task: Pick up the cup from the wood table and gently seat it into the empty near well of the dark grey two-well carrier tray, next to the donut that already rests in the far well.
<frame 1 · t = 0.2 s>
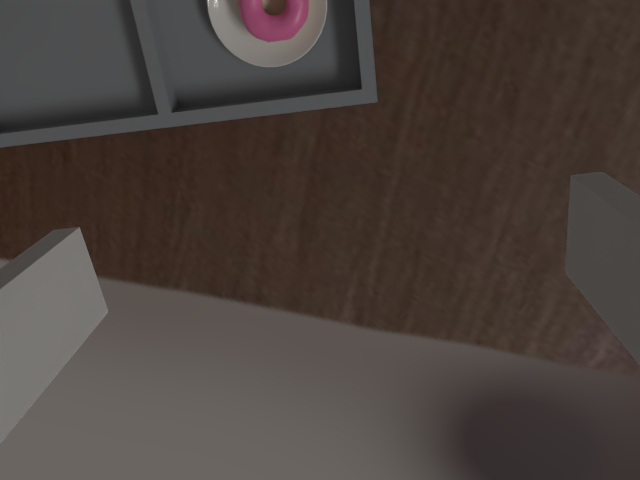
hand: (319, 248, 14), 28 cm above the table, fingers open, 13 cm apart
carrier tray: (152, 10, 38), on the table
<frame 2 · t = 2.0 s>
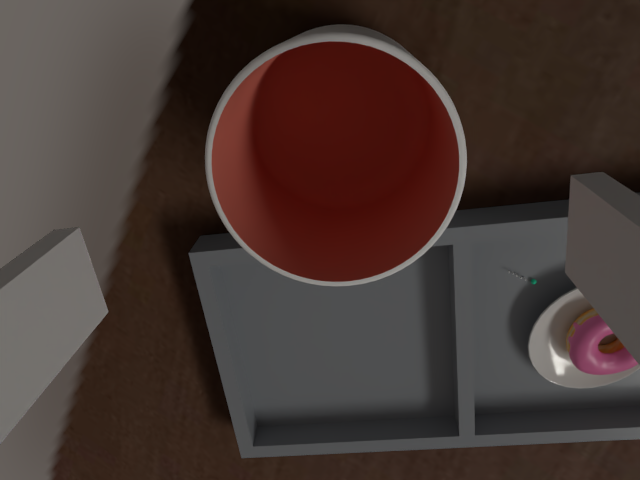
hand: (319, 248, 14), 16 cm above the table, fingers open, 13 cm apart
cup: (341, 120, 29), on the table
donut: (570, 319, 33), resting on carrier tray
carrier tray: (457, 325, 34), on the table
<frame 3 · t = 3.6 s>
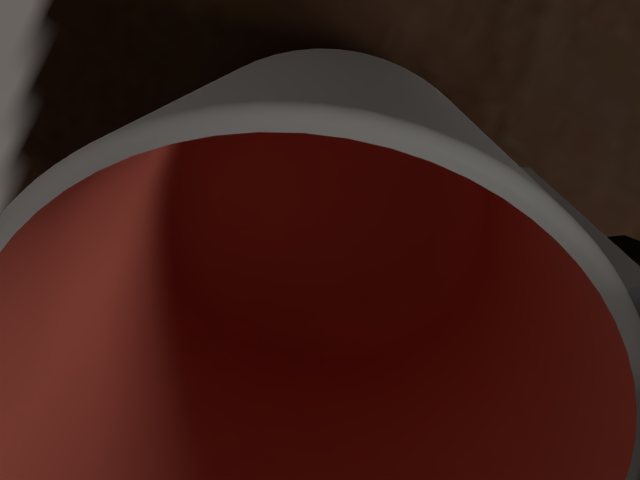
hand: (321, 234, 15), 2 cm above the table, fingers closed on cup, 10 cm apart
cup: (325, 209, 17), on the table, touching gripper
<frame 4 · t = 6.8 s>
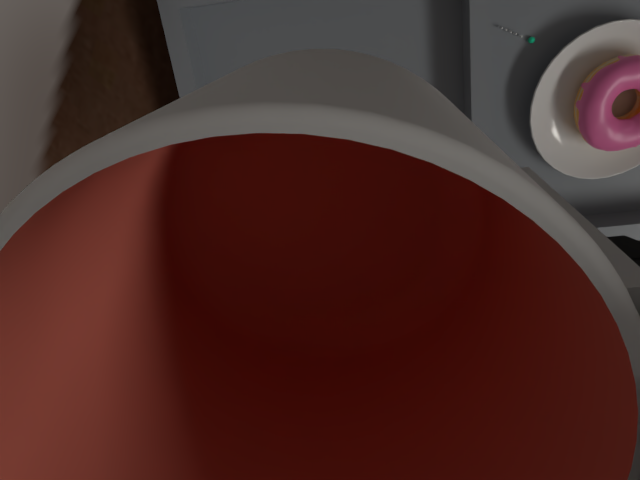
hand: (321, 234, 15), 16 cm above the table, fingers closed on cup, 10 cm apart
cup: (325, 210, 17), point 14 cm above the table, touching gripper
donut: (578, 91, 28), resting on carrier tray
carrier tray: (471, 106, 29), on the table
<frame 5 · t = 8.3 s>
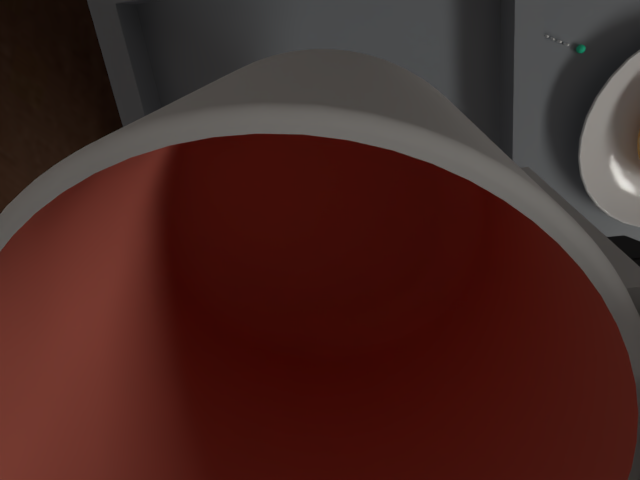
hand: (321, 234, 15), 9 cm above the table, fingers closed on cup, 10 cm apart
cup: (325, 210, 17), point 7 cm above the table, touching gripper
carrier tray: (508, 133, 22), on the table
when the fingers open (5 cm above the table, at t = 9.8 s): cup drops 3 cm, resting on carrier tray.
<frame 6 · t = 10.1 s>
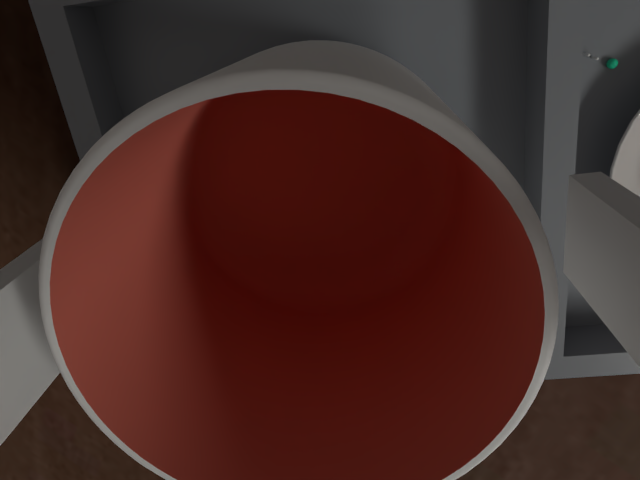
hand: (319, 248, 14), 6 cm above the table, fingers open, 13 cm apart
cup: (321, 181, 19), resting on carrier tray
carrier tray: (533, 157, 19), on the table
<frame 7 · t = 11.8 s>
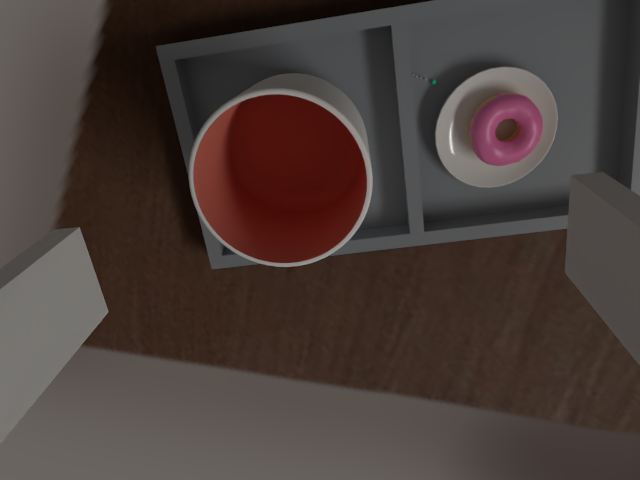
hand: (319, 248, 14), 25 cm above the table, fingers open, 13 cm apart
cup: (297, 143, 37), resting on carrier tray
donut: (473, 119, 36), resting on carrier tray
carrier tray: (405, 129, 37), on the table
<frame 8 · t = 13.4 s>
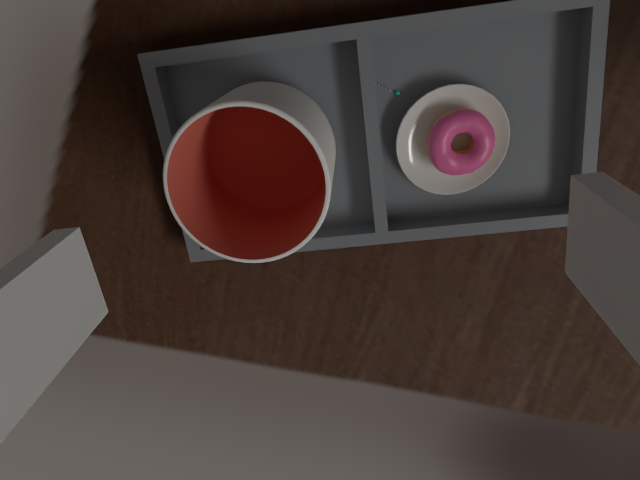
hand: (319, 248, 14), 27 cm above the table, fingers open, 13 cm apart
cup: (271, 146, 40), resting on carrier tray
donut: (433, 130, 39), resting on carrier tray
carrier tray: (372, 134, 39), on the table
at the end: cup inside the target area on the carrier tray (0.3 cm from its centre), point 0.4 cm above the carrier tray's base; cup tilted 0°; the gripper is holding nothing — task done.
